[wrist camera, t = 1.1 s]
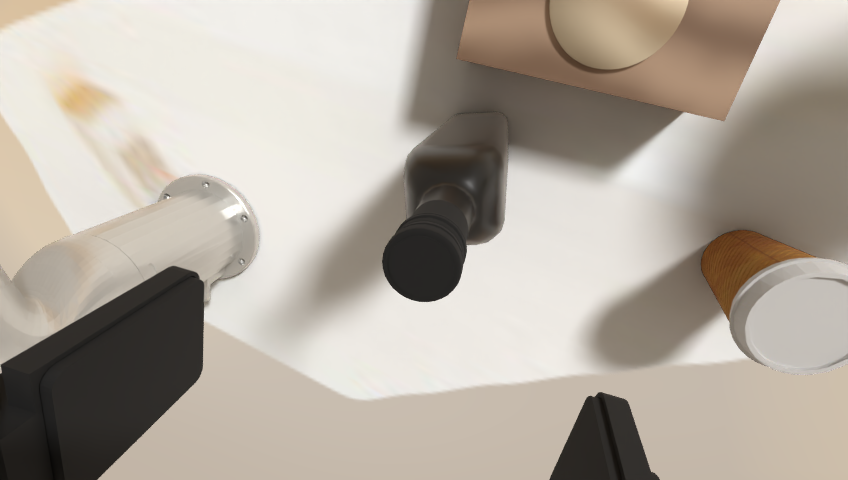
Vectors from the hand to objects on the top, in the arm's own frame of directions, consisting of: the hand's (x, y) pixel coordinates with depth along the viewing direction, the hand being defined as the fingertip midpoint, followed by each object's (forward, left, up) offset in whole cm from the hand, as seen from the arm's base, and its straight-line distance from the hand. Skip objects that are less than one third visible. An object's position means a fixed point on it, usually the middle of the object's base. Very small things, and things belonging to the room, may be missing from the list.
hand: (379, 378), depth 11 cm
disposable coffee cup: (-5, -27, -37) cm, 46 cm away
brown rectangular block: (+13, -7, -37) cm, 39 cm away
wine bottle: (0, 0, -37) cm, 37 cm away
